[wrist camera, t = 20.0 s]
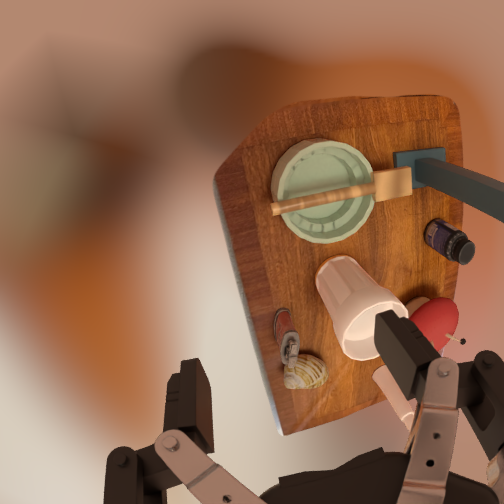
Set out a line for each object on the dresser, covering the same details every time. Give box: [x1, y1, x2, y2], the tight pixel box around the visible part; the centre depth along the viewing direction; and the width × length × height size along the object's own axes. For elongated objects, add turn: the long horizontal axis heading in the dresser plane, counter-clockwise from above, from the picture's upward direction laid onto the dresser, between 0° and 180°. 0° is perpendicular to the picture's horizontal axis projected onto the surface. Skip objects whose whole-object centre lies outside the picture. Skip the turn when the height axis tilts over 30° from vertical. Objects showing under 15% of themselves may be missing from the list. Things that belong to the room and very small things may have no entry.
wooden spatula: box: [270, 166, 412, 216], centre depth 43 cm, size 23×4×2 cm, turn 102°
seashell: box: [284, 354, 329, 389], centre depth 63 cm, size 10×10×10 cm
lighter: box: [274, 308, 300, 368], centre depth 56 cm, size 8×3×10 cm, turn 0°
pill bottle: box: [424, 219, 475, 265], centre depth 51 cm, size 6×6×11 cm
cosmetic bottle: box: [372, 365, 414, 433], centre depth 62 cm, size 6×6×22 cm
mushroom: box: [405, 296, 466, 352], centre depth 57 cm, size 16×16×15 cm
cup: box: [315, 254, 408, 361], centre depth 49 cm, size 11×11×17 cm
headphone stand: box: [393, 147, 504, 223], centre depth 35 cm, size 7×12×32 cm, turn 101°
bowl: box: [271, 138, 375, 244], centre depth 47 cm, size 16×16×6 cm
